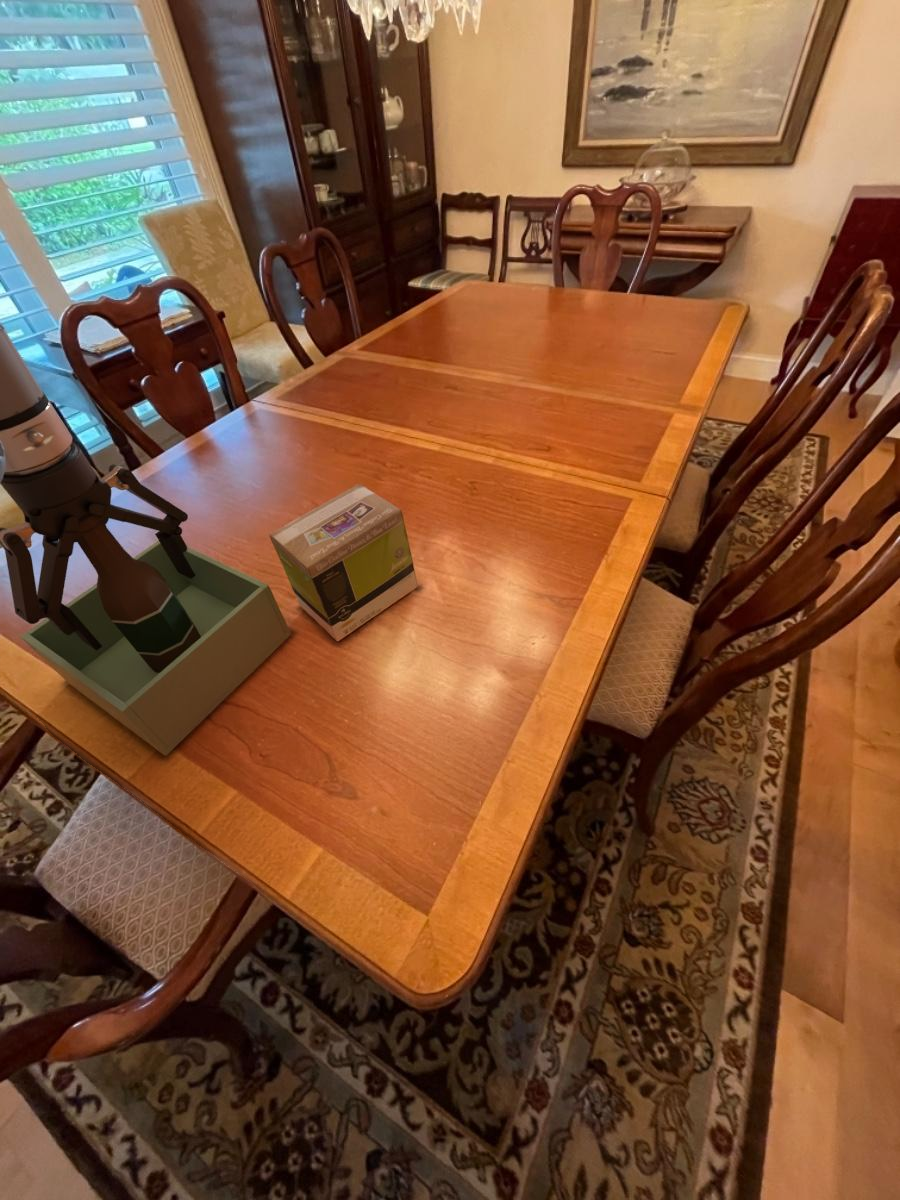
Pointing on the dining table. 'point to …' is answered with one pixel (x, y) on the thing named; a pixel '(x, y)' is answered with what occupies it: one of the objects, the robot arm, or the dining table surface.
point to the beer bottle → (137, 598)
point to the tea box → (347, 559)
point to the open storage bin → (192, 681)
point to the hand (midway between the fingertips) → (142, 607)
